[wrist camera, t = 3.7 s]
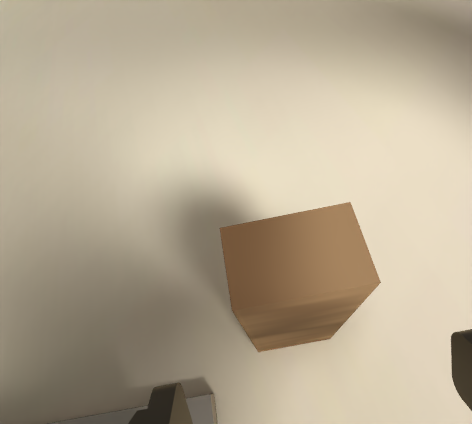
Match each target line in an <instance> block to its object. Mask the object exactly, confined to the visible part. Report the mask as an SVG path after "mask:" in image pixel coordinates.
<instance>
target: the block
mask: <svg viewBox="0 0 472 424" xmlns="http://www.w3.org/2000/svg"><path fill="white" fill-rule="evenodd" d="M220 233H221V240H222V246H223V253H224V260H225V266H226V273H227V280H228V287H229V293H230V300H231V307H232V311H233V313H234V314H235V316H236V318H237V319H238V321H239V322H240V324H241V325H242V327H243V328H244V330H245V332H246V333H247V335H248V336H249V338H250V339H251V341H252V343H253V344H254V346H255V347H256V349H257V350H258V352H261V351H267V350H272V349H278V348H283V347H288V346H294V345H299V344H305V343H310V342H315V341H321V340H326V339H330V338H331V337H332V336H333V335H334V334H335V333H336V332H337V330H338V329H339V328H340V327H341V326H342V325H343V324H344V323H345V322H346V320H347V319H348V318H349V317H350V316H351V315H352V314H353V313H354V312H355V310H356V309H357V308H358V307H359V306H360V305H361V304H362V303H363V302H364V300H365V299H366V298H367V297H368V296H369V295H370V294H371V293H372V292H373V290H374V289H375V288H376V287H377V286H378V285H379V284H380V283H381V282H380V280H379V277H378V274H377V272H376V269H375V266H374V264H373V261H372V258H371V256H370V253H369V250H368V248H367V245H366V242H365V240H364V237H363V234H362V232H361V229H360V226H359V224H358V221H357V218H356V216H355V213H354V210H353V208H352V205H351V203H350V202H349V203H344V204H338V205H333V206H328V207H323V208H318V209H313V210H308V211H303V212H298V213H293V214H288V215H283V216H278V217H273V218H268V219H263V220H258V221H253V222H248V223H243V224H238V225H233V226H228V227H223V228H220Z"/></svg>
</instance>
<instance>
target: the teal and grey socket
mask: <svg viewBox="0 0 472 424" xmlns="http://www.w3.org/2000/svg"><path fill="white" fill-rule="evenodd" d="M186 402H187V405H188V408H189V412H190V415H191V418H192V422H193V424H217V415H216V406H215V397H214V394H208V395H203V396H197V397H192V398H186ZM147 408H148V405H147V406H142V407H136V408H131V409H125V410H120V411H114V412H109V413H103V414H98V415H92V416H87V417H81V418H76V419H70V420H65V421H59V422H54V423H48V424H128V423H129V421H130V420H131V419H132V417H133V416H134V414H135V413H136V411H137V410H143V409H147Z"/></svg>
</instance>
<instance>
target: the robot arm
mask: <svg viewBox="0 0 472 424" xmlns="http://www.w3.org/2000/svg"><path fill="white" fill-rule="evenodd" d="M451 355H452V378H453V382H454V385H455V387H456V390H457V392H458V393H459V395H460V397H461V398H462V400H463V401H464V402H465V403H466V404H467V406H468V407H469V408H470V409H471V411H472V329H470V330H465V331H460V332H455V333H453V334H452V336H451ZM128 424H193V422H192V418H191V415H190V412H189V408H188V405H187V402H186V398H185V395H184V392H183V389H182V386H181V384H180V383H175V384H169V385H164V386H159V387H155V388H154V389H153V391H152V394H151V397H150V401H149V405H148V408H147V409H143V410H137V411H136V413H135V414H134V416H133V417H132V419H131V420H130V421H129V423H128Z"/></svg>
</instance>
